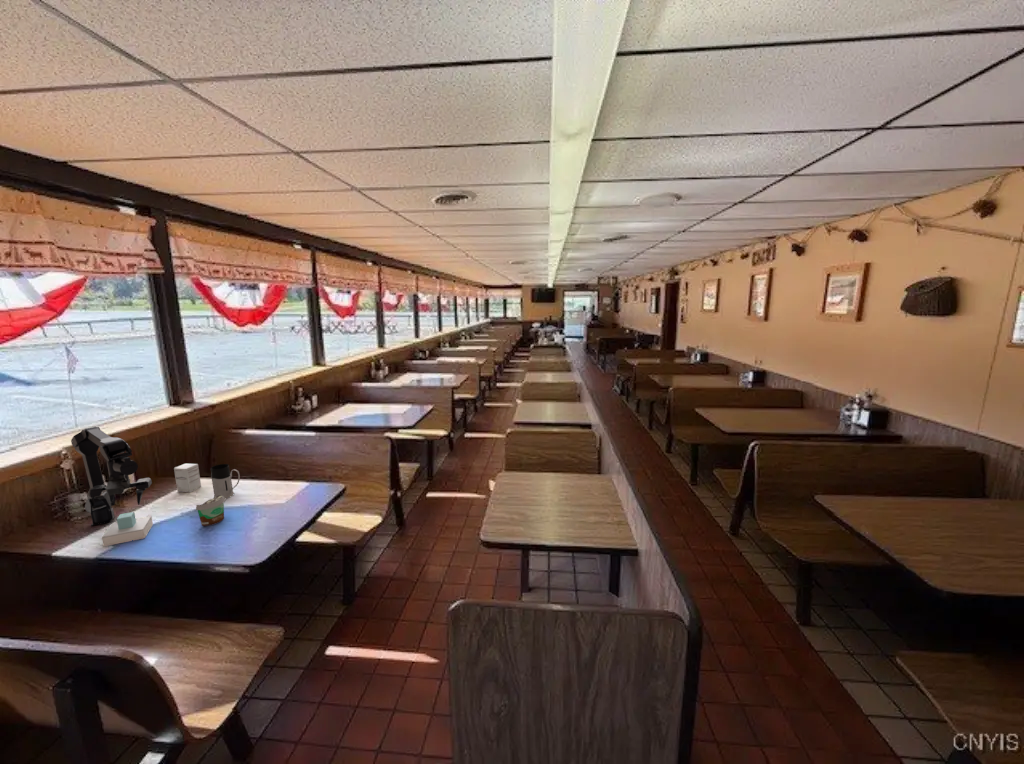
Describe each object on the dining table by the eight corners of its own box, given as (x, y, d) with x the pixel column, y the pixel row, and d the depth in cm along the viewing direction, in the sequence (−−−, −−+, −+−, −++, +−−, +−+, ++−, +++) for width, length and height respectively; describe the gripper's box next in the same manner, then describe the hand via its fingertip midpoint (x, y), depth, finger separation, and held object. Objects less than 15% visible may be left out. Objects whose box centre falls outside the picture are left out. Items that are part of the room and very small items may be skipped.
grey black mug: (222, 491, 228) (218, 463, 225) (248, 492, 226) (244, 464, 223) (209, 499, 219) (204, 469, 217) (235, 500, 217) (231, 470, 215)
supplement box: (177, 492, 229) (172, 468, 227) (189, 486, 236) (185, 462, 234) (189, 492, 228) (185, 468, 225) (202, 486, 235) (198, 463, 233)
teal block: (118, 529, 183) (116, 519, 182) (122, 524, 187) (120, 514, 186) (133, 526, 185) (131, 516, 184) (136, 522, 189) (134, 511, 188)
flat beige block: (103, 546, 178) (101, 537, 178) (114, 531, 190) (112, 522, 189) (144, 538, 184) (143, 528, 183) (153, 524, 196) (151, 515, 195)
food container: (211, 528, 190) (207, 506, 189) (198, 527, 192) (195, 505, 190) (234, 515, 202) (231, 493, 200) (222, 514, 204) (219, 493, 202)
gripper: (79, 482, 172) (87, 520, 175) (141, 473, 180) (148, 509, 183) (90, 472, 182) (98, 508, 185) (148, 464, 190) (155, 499, 193)
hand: (124, 506), depth 186 cm, fingers open, 9 cm apart
